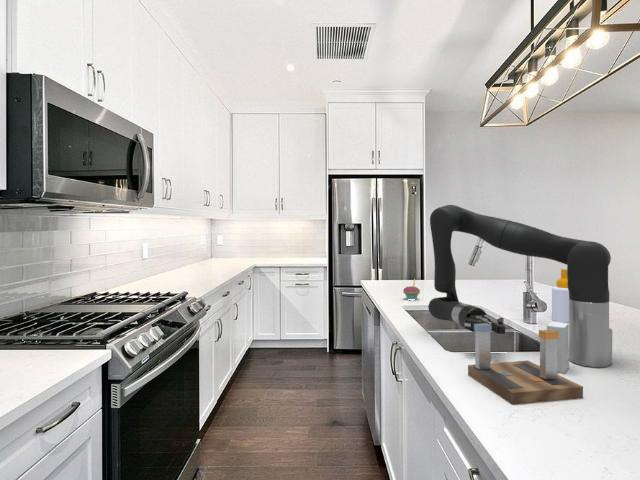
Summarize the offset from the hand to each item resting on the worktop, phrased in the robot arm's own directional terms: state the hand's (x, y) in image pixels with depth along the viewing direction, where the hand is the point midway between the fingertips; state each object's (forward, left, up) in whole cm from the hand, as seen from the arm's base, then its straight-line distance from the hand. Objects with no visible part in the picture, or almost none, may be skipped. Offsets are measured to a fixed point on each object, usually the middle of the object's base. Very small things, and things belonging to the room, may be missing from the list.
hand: (502, 330), depth 111 cm
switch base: (+4, +14, -9) cm, 17 cm away
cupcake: (-15, -101, -10) cm, 103 cm away
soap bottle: (-56, -43, -10) cm, 71 cm away
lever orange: (0, +17, -7) cm, 19 cm away
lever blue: (+11, +8, -7) cm, 15 cm away
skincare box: (-12, +6, -10) cm, 17 cm away
